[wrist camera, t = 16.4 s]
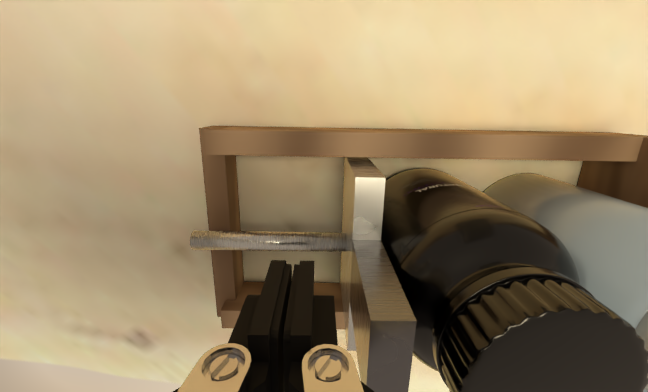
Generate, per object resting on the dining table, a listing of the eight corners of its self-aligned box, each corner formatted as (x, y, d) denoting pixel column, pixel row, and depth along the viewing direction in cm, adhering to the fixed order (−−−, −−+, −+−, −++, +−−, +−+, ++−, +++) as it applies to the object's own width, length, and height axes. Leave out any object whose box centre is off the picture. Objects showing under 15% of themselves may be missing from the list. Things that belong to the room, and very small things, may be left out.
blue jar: (459, 266, 20) (612, 442, 9) (476, 171, 18) (687, 260, 8) (555, 268, 20) (812, 446, 10) (580, 174, 18) (931, 265, 8)
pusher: (219, 279, 20) (103, 472, 9) (207, 152, 18) (36, 219, 7) (358, 280, 20) (398, 473, 10) (365, 154, 18) (428, 225, 7)
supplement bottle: (435, 142, 18) (652, 208, 6) (486, 230, 19) (735, 412, 8) (338, 207, 19) (370, 366, 7) (395, 285, 20) (496, 518, 9)
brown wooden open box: (227, 297, 21) (190, 370, 15) (212, 125, 17) (158, 134, 12) (564, 300, 21) (656, 374, 15) (611, 132, 18) (751, 144, 12)
